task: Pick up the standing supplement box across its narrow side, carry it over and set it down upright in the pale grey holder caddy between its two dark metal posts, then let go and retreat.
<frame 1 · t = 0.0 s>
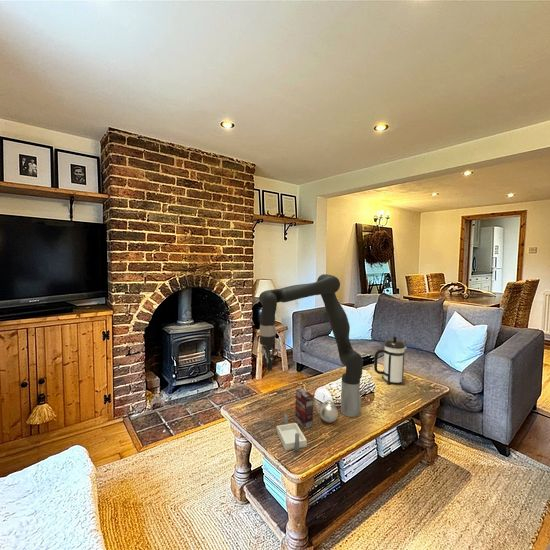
hand: (267, 366, 144), 29 cm above the table, fingers open, 8 cm apart
holder caddy: (291, 439, 136), on the table
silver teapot: (328, 421, 151), on the table
supplement box: (303, 423, 148), on the table
coffee press: (391, 381, 196), on the table
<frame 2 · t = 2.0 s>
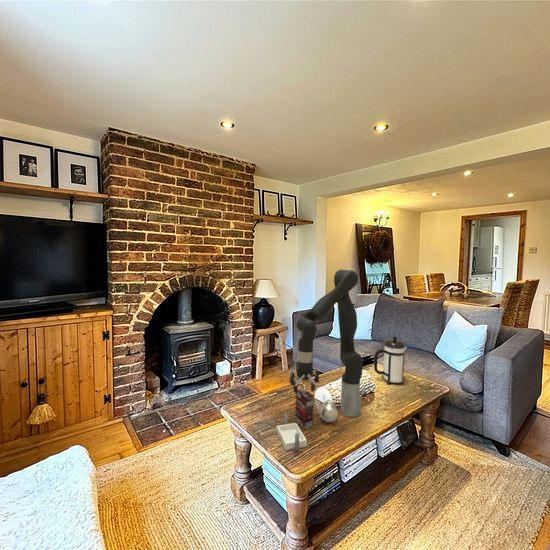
hand: (304, 391, 147), 16 cm above the table, fingers open, 8 cm apart
nothing on the table moved.
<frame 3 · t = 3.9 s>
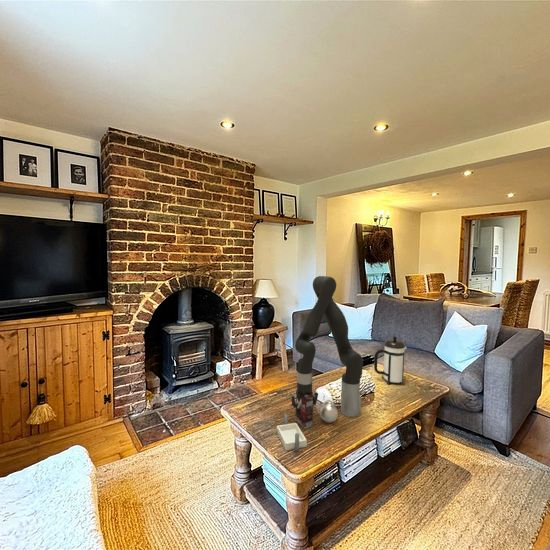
hand: (303, 413, 148), 5 cm above the table, fingers closed on supplement box, 5 cm apart
supplement box: (303, 423, 148), on the table, touching gripper
everything else where it was.
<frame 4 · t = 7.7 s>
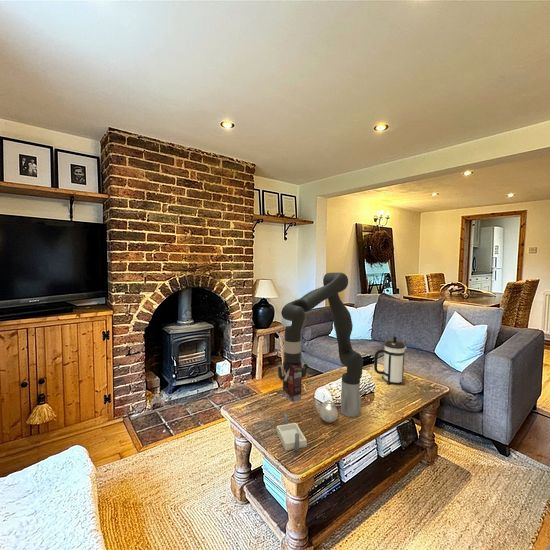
hand: (292, 387, 134), 24 cm above the table, fingers closed on supplement box, 5 cm apart
supplement box: (291, 398, 134), point 19 cm above the table, touching gripper
everything else where it was.
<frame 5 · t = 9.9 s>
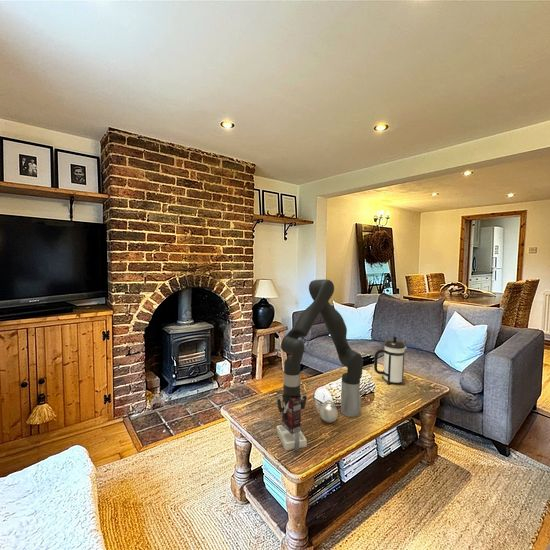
hand: (291, 418, 135), 10 cm above the table, fingers closed on supplement box, 5 cm apart
supplement box: (290, 429, 136), point 4 cm above the table, touching gripper
everything else where it was.
when the fingers open (7 cm above the table, at t = 11.5 s): supplement box drops 1 cm, resting on holder caddy.
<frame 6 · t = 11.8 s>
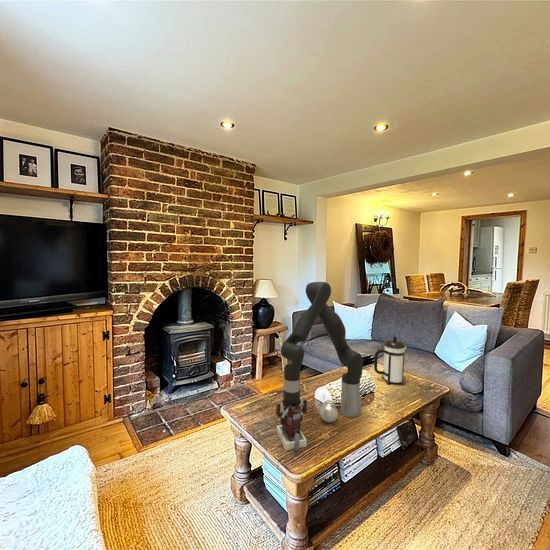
hand: (291, 423, 135), 7 cm above the table, fingers open, 7 cm apart
supplement box: (290, 438, 136), resting on holder caddy
everything else where it was.
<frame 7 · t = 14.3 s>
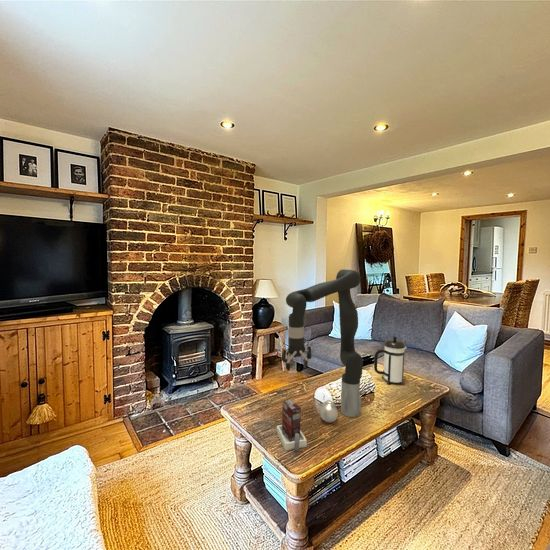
hand: (296, 368, 143), 29 cm above the table, fingers open, 8 cm apart
nothing on the table moved.
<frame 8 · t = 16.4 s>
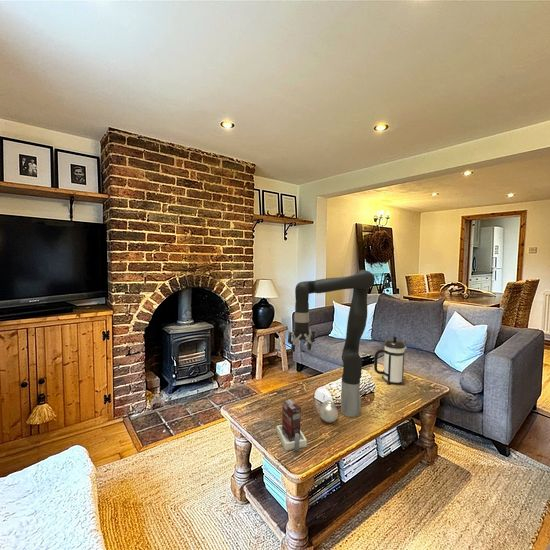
hand: (301, 350, 159), 32 cm above the table, fingers open, 8 cm apart
nothing on the table moved.
at the end: supplement box inside the target area on the holder caddy (0.1 cm from its centre), point 0.4 cm above the holder caddy's base; supplement box tilted 0°; the gripper is holding nothing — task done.
